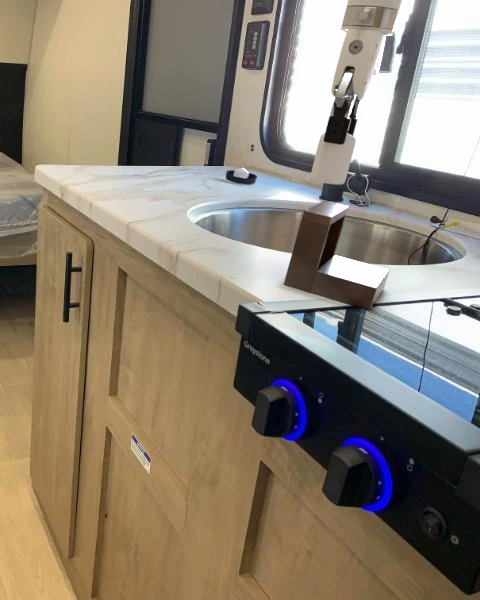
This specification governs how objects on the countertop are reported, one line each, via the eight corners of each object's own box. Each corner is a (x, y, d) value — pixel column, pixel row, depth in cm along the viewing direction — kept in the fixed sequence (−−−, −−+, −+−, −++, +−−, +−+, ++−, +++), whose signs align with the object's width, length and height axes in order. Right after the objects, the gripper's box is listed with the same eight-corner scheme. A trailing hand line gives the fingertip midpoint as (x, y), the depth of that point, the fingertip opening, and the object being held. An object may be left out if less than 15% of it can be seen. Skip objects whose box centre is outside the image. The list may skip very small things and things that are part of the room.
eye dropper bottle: (310, 177, 105) (328, 106, 100) (344, 183, 103) (364, 110, 98) (308, 181, 101) (327, 106, 96) (344, 186, 99) (364, 111, 95)
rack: (383, 289, 84) (407, 219, 80) (369, 310, 75) (395, 232, 71) (304, 267, 89) (324, 200, 85) (283, 284, 80) (303, 210, 77)
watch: (254, 183, 154) (258, 169, 153) (255, 186, 150) (258, 172, 149) (224, 178, 155) (227, 164, 154) (224, 181, 151) (227, 167, 150)
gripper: (386, 17, 84) (350, 148, 91) (402, 30, 98) (370, 144, 104) (331, 14, 88) (300, 140, 94) (354, 27, 101) (326, 137, 108)
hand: (337, 141), depth 99 cm, fingers closed on eye dropper bottle, 4 cm apart
